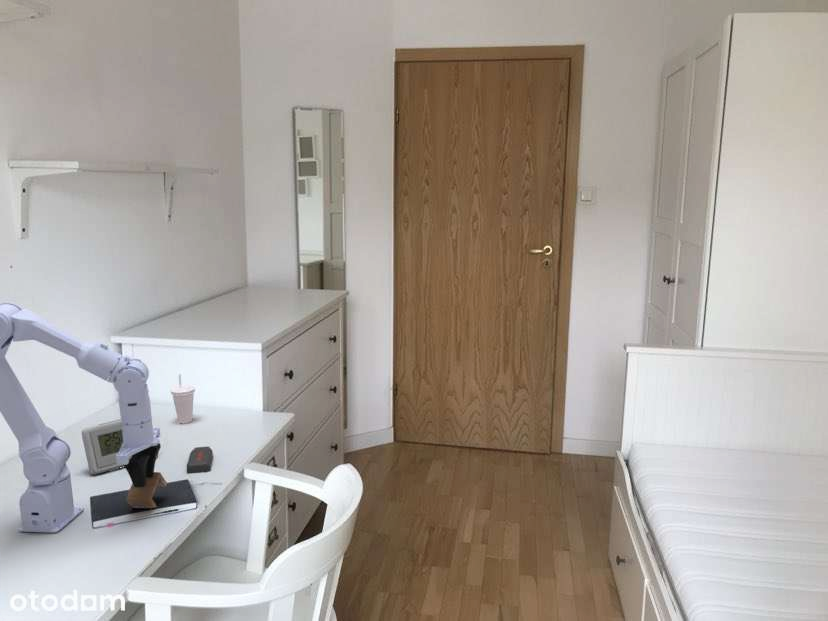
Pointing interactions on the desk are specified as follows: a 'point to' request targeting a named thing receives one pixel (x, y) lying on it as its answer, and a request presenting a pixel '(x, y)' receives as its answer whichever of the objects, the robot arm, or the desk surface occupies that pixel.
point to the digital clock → (103, 446)
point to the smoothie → (183, 402)
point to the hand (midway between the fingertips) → (143, 482)
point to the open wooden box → (145, 491)
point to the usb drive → (200, 460)
